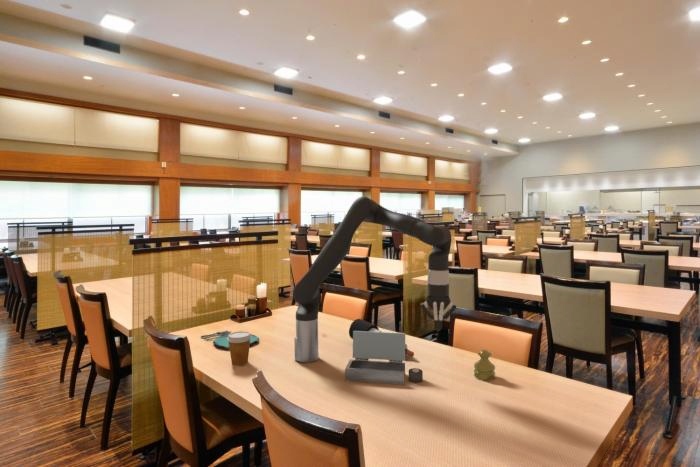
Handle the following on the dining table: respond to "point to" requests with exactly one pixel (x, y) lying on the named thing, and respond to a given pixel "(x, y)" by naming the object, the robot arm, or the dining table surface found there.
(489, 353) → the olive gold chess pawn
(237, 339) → the disposable coffee cup
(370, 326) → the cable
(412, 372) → the dark grey tape roll
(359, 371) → the grey rectangular box
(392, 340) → the cover
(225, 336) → the cutlery set
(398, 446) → the dining table surface
